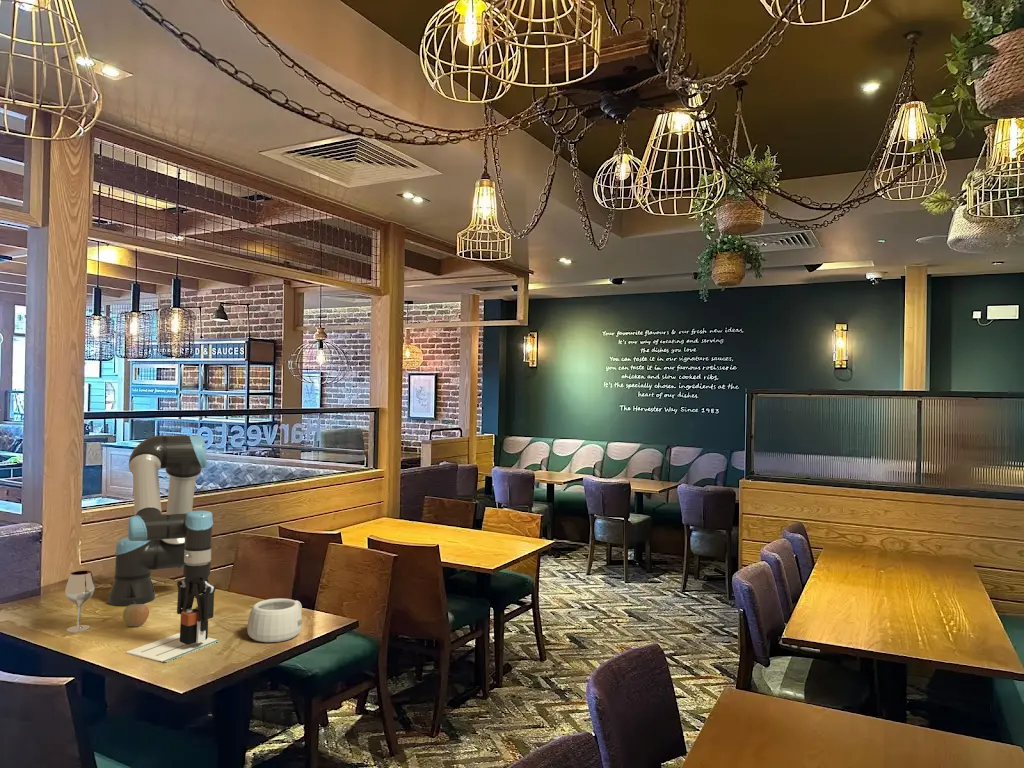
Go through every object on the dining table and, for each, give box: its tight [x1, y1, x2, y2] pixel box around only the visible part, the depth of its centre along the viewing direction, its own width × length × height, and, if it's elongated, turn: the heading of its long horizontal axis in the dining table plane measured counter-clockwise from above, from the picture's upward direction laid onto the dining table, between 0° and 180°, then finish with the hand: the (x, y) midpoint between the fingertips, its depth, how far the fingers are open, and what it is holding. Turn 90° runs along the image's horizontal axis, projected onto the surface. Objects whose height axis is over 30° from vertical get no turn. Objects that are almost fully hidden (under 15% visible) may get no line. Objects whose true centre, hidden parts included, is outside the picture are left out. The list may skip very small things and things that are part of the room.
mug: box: [246, 598, 303, 643], centre depth 223 cm, size 21×17×10 cm
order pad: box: [125, 632, 221, 663], centre depth 207 cm, size 20×16×1 cm
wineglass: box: [64, 570, 96, 633], centre depth 220 cm, size 8×8×18 cm
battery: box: [179, 605, 209, 645], centre depth 208 cm, size 4×7×10 cm, turn 146°
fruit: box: [122, 601, 150, 627], centre depth 225 cm, size 8×7×8 cm
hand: (193, 639), depth 208 cm, fingers closed on battery, 5 cm apart
